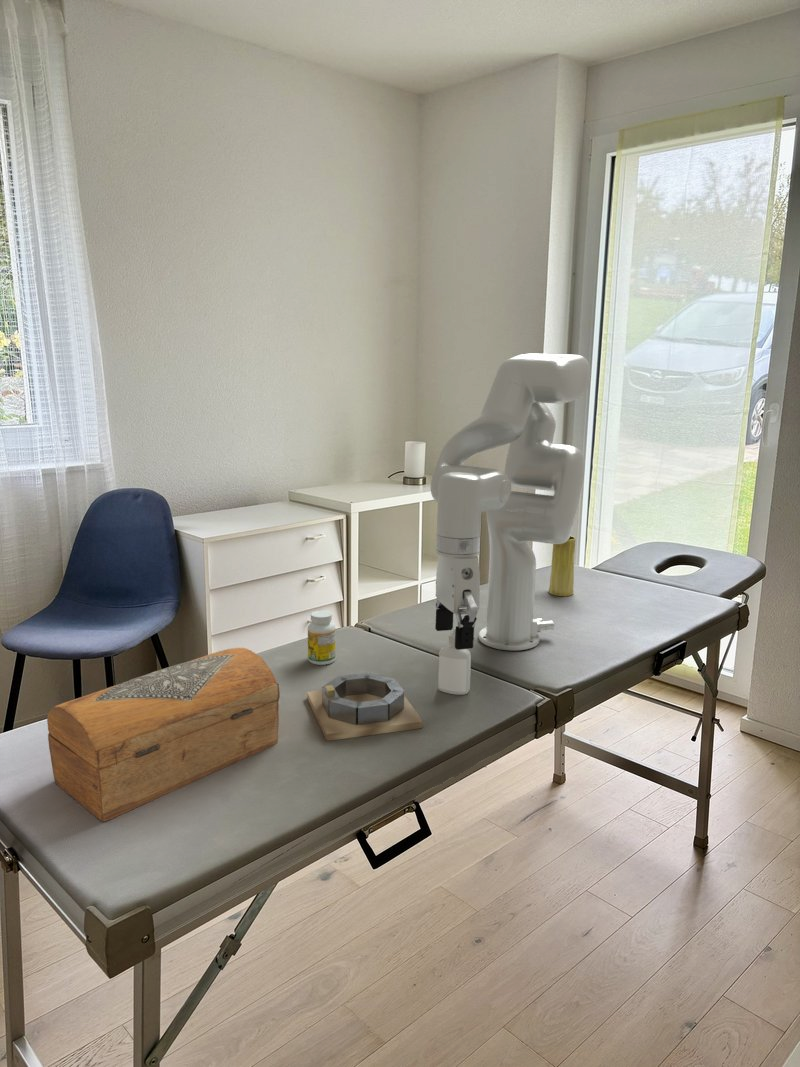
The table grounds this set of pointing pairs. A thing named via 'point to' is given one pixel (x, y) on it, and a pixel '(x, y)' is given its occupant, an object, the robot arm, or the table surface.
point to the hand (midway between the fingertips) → (453, 638)
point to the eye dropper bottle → (454, 668)
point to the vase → (562, 568)
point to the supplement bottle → (321, 638)
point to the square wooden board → (343, 730)
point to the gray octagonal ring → (362, 710)
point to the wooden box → (162, 730)
